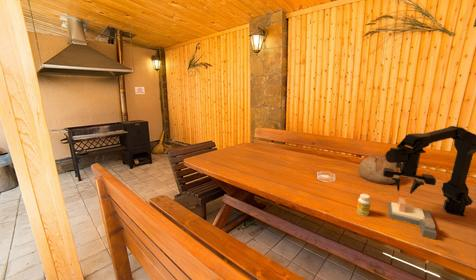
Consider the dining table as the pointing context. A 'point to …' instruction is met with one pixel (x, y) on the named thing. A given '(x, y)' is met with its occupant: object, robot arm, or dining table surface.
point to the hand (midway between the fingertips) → (404, 192)
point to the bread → (376, 169)
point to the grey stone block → (428, 223)
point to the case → (415, 222)
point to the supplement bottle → (363, 205)
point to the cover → (406, 210)
